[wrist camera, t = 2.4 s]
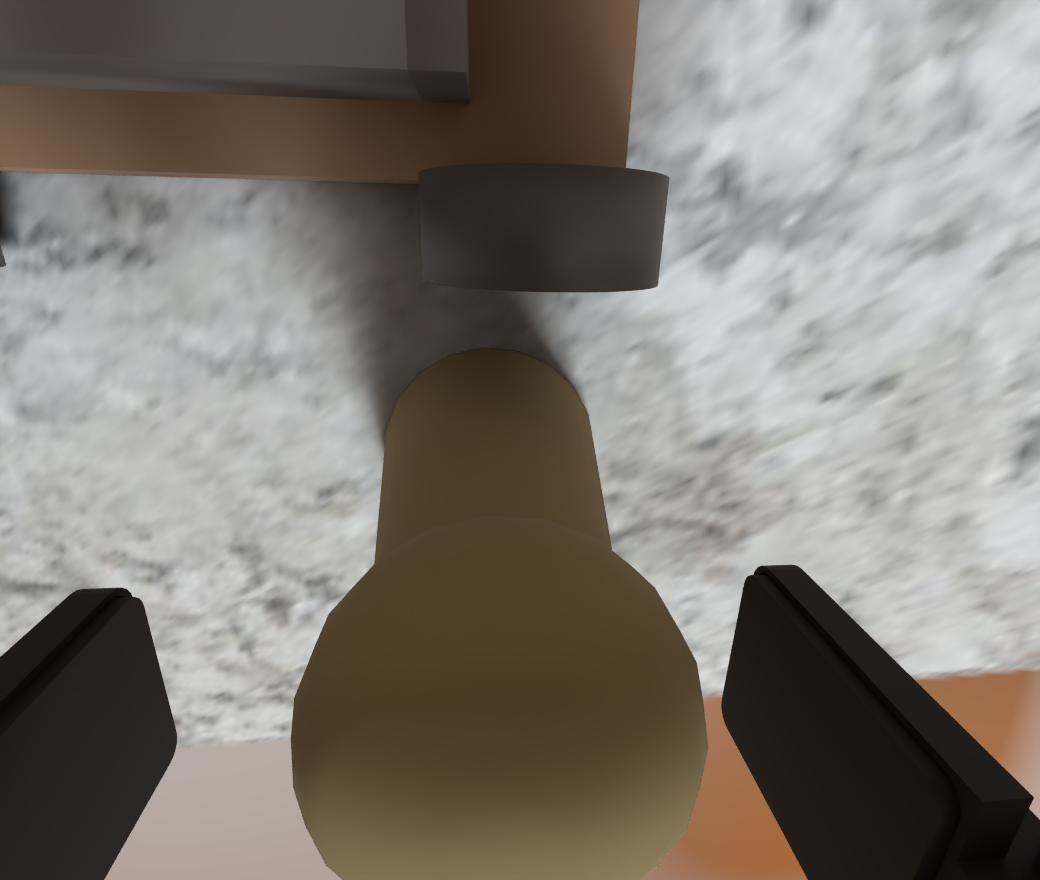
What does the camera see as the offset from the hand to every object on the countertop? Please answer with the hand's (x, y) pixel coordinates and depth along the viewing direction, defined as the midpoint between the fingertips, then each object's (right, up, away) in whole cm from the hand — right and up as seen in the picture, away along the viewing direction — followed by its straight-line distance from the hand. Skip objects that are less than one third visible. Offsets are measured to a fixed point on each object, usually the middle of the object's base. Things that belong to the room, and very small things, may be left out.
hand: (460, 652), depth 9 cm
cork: (0, +3, +7) cm, 8 cm away
